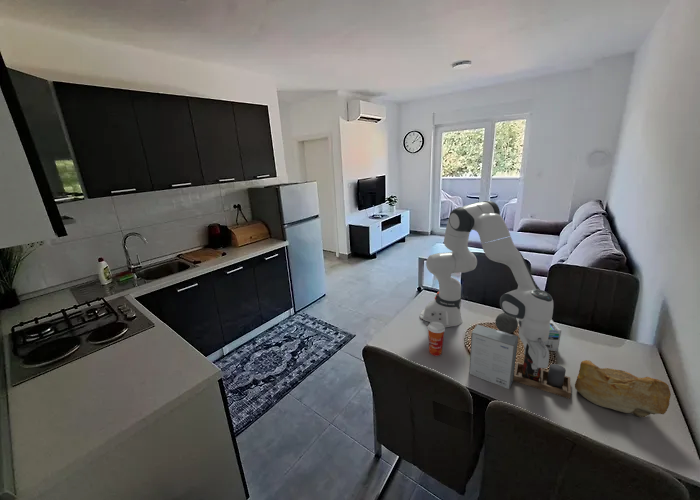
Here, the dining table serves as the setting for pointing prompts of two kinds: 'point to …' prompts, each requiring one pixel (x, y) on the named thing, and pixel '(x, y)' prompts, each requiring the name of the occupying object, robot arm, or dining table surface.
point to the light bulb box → (553, 337)
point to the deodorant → (529, 368)
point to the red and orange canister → (435, 338)
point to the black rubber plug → (556, 376)
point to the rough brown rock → (622, 390)
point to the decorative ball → (506, 323)
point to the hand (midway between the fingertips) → (530, 361)
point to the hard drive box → (493, 355)
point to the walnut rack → (543, 382)
